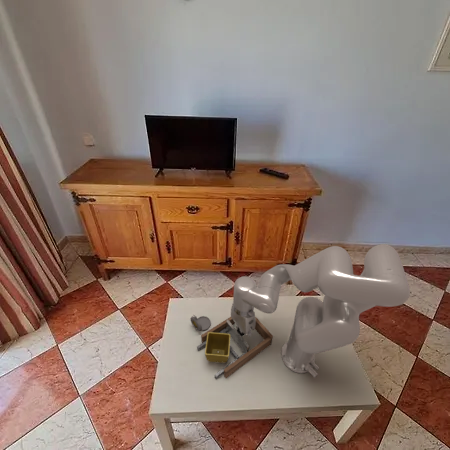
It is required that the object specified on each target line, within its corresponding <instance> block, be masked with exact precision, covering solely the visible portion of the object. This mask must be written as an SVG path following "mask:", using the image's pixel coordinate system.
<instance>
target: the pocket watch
mask: <svg viewBox="0 0 450 450" xmlns="http://www.w3.org/2000/svg"><path fill="white" fill-rule="evenodd" d="M189 320H190V322H191V325H192V326H193V328H194V329H196V331H198V332H203V331H206V330H207V331H208V329H210V328H211V324H212V323H211V318H209V317H208V316H204V315H203V316H199V317H197V316H196V314H193V315H192V316H191V317H190V319H189Z"/></svg>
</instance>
